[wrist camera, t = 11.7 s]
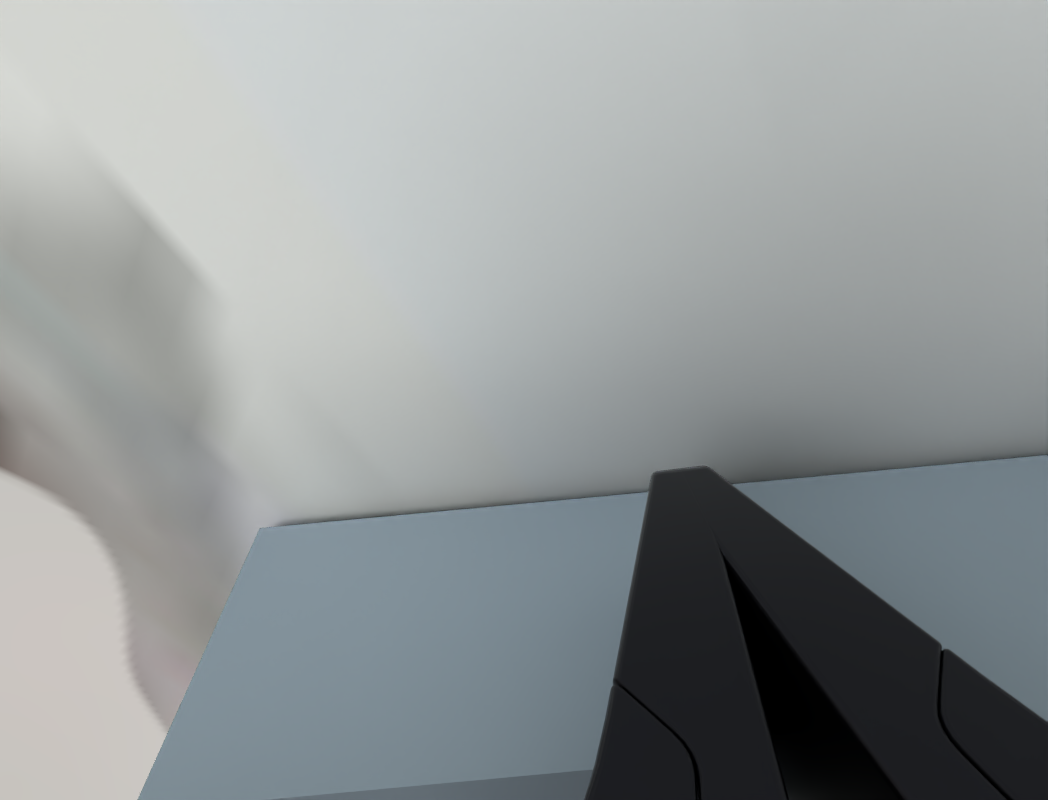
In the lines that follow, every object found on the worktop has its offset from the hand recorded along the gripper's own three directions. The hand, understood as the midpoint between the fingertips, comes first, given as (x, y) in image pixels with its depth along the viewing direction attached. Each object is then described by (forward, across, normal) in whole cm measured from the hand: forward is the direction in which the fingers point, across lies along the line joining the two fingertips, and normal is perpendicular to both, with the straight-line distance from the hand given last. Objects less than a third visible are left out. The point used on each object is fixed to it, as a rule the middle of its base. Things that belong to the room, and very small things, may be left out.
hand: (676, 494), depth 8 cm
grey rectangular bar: (+2, -1, +2) cm, 3 cm away
